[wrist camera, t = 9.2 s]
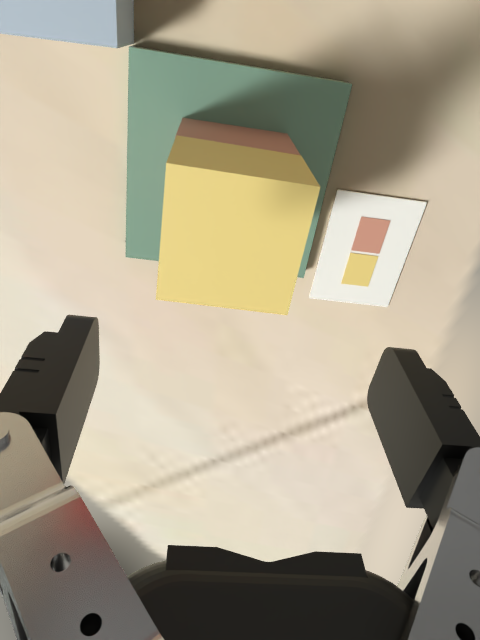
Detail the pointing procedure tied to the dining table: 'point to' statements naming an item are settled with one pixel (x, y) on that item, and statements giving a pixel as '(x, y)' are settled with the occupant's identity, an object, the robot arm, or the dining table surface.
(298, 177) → the mustard brick
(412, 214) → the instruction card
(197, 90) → the build plate
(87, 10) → the slate brick
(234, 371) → the dining table surface
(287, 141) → the base brick
